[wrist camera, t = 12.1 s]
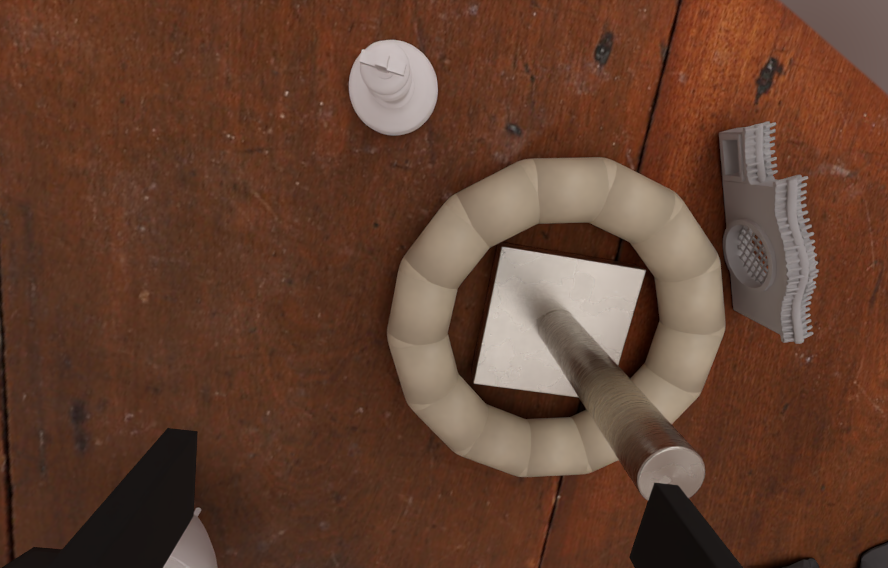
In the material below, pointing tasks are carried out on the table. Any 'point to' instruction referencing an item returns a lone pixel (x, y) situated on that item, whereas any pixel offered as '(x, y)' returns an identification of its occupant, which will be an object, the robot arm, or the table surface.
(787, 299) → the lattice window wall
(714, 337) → the ring
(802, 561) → the cloth
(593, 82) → the table surface
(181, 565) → the spinning top
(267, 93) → the table surface
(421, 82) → the chess piece
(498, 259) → the stand
